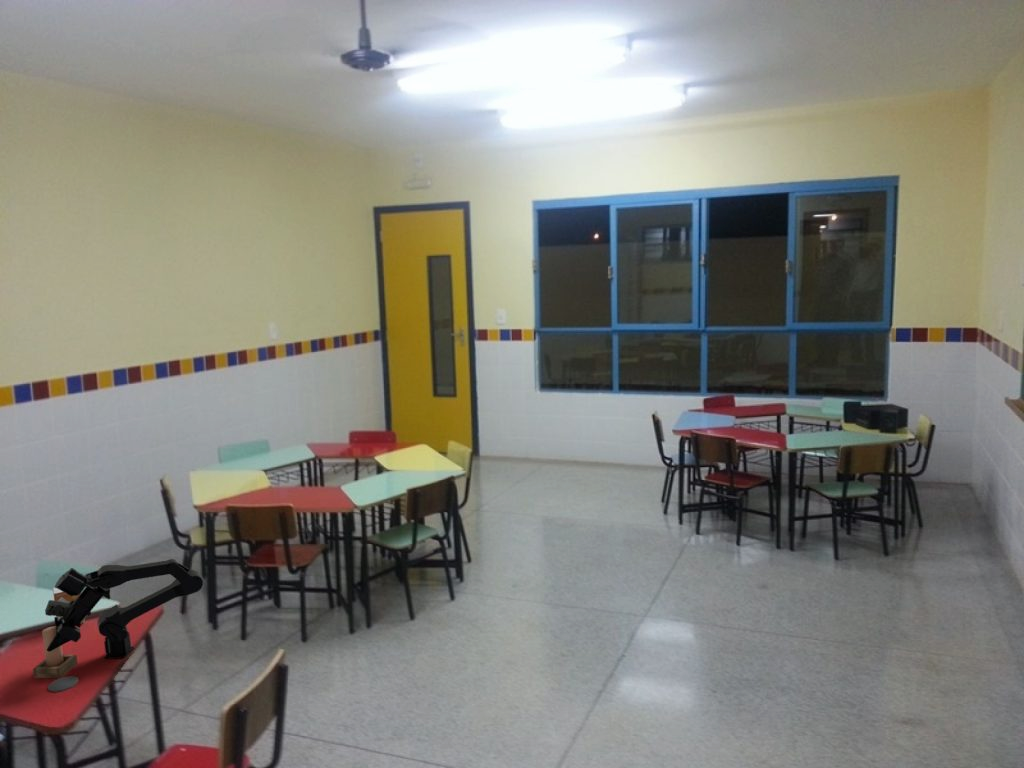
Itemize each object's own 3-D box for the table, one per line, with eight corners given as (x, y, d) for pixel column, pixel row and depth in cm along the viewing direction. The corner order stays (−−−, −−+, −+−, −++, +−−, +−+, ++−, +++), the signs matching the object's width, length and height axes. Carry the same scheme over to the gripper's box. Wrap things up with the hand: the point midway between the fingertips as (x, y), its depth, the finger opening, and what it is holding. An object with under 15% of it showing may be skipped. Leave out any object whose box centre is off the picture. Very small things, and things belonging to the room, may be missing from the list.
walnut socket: (77, 663, 233) (76, 654, 233) (60, 677, 225) (59, 668, 225) (52, 664, 234) (50, 654, 233) (34, 678, 226) (33, 668, 225)
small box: (58, 630, 257) (53, 593, 255) (57, 623, 262) (52, 587, 261) (85, 623, 262) (80, 587, 260) (83, 616, 267) (79, 581, 265)
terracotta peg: (67, 662, 231) (62, 626, 230) (58, 670, 227) (52, 633, 225) (53, 663, 232) (48, 626, 230) (44, 670, 227) (38, 633, 226)
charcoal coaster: (83, 677, 225) (83, 676, 225) (68, 691, 217) (67, 690, 217) (59, 677, 225) (59, 676, 225) (42, 691, 218) (42, 690, 218)
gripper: (59, 580, 236) (22, 624, 231) (62, 601, 220) (23, 647, 216) (91, 598, 241) (55, 640, 237) (96, 618, 226) (58, 664, 221)
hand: (47, 647), depth 228 cm, fingers closed on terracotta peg, 4 cm apart
